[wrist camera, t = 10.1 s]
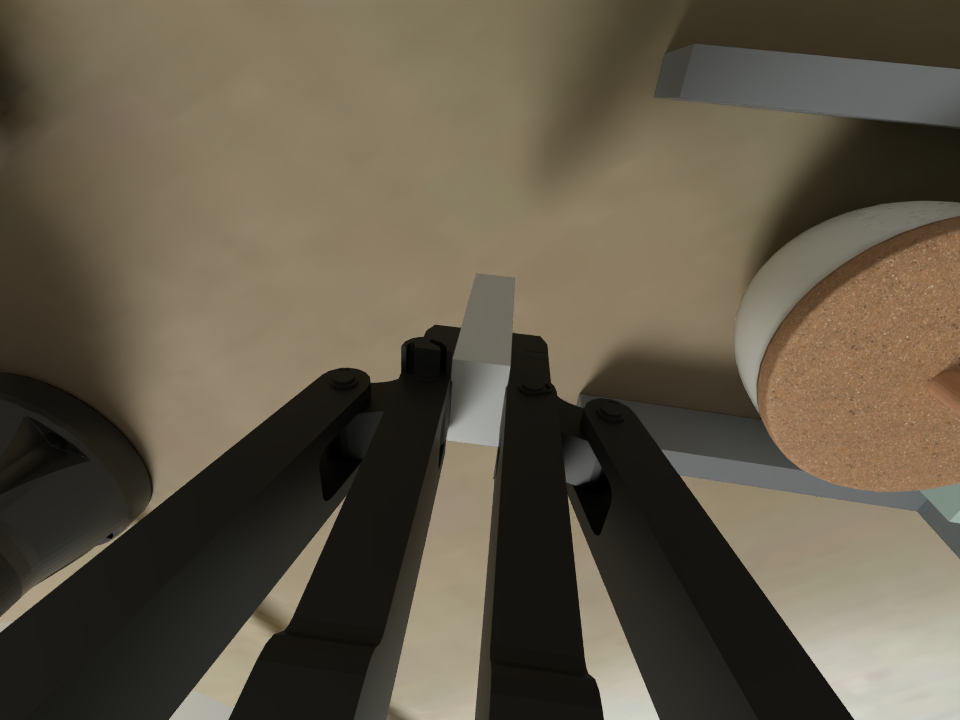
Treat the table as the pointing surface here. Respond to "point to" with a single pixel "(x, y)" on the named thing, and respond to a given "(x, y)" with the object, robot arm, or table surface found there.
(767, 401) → the lidded jar
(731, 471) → the grey fixture frame
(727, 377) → the table surface
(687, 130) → the table surface
